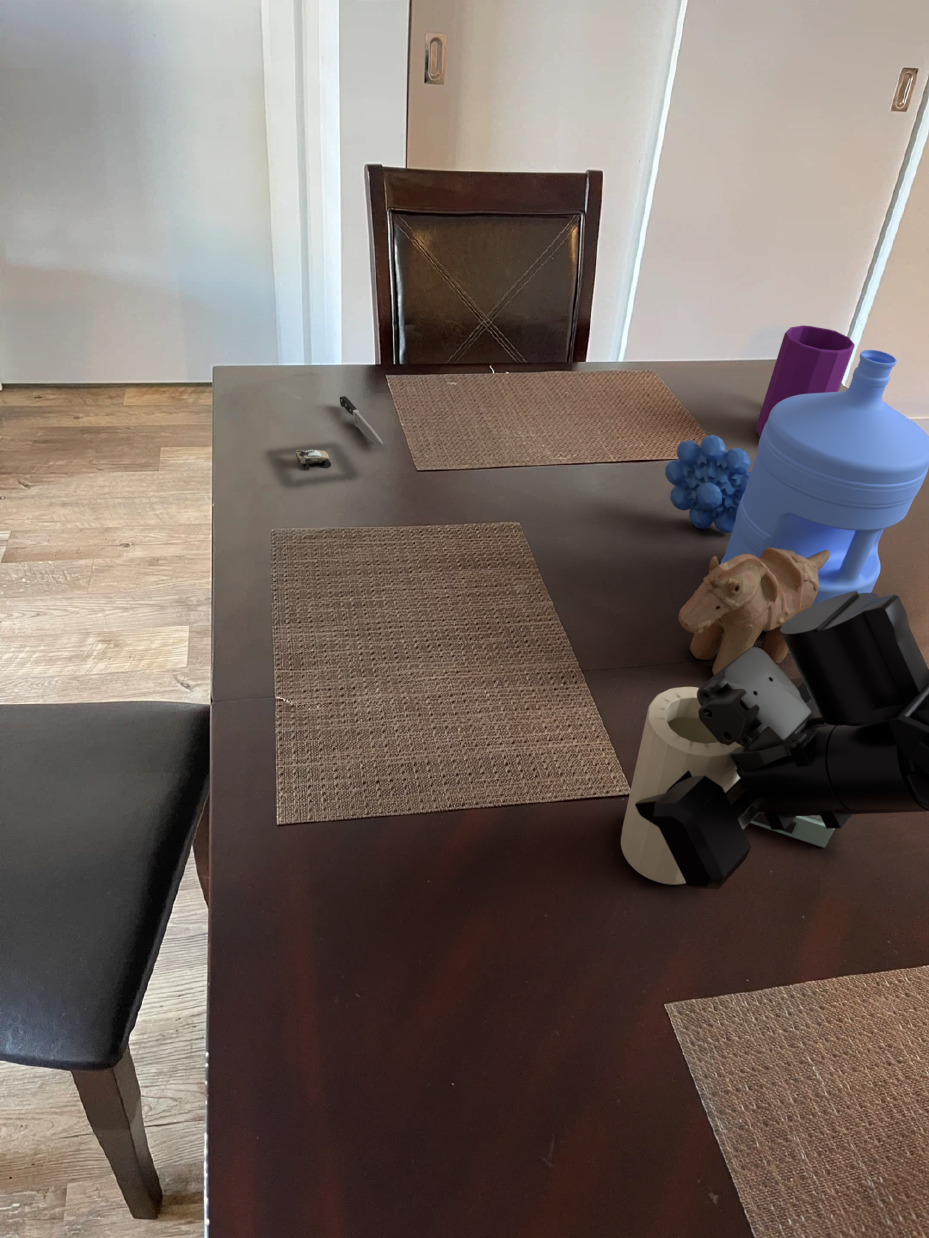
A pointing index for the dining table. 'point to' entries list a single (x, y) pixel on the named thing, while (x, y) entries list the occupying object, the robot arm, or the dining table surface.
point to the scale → (800, 828)
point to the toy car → (313, 458)
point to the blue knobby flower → (709, 482)
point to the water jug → (833, 479)
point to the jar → (670, 775)
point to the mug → (806, 366)
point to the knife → (360, 421)
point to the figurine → (750, 603)
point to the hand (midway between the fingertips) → (667, 782)
